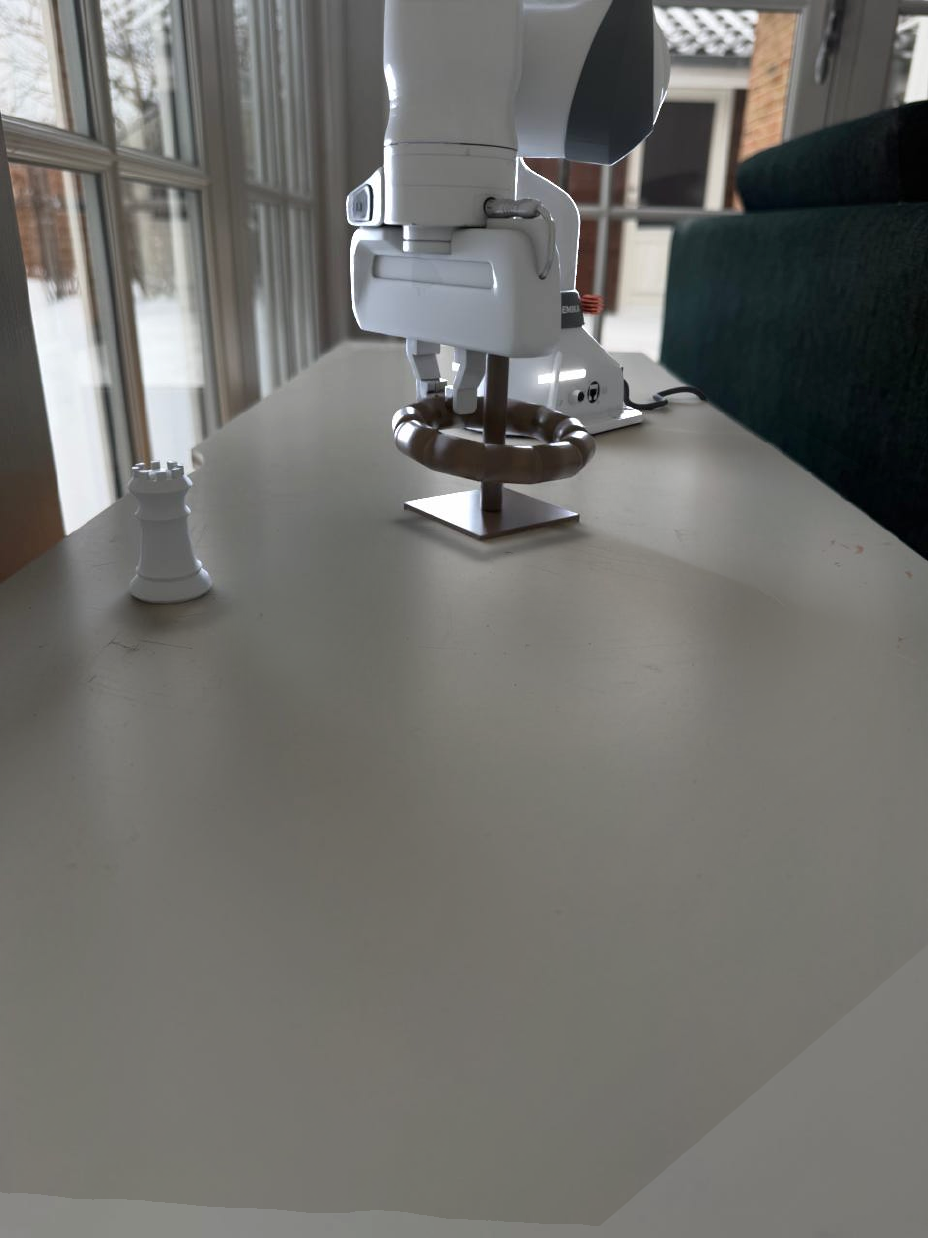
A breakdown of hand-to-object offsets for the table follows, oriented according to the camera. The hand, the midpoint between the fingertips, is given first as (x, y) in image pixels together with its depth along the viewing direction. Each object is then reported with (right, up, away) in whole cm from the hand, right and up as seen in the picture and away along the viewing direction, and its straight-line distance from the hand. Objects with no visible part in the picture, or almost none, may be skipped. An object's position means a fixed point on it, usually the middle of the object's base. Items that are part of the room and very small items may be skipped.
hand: (445, 408), depth 65 cm
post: (+3, -9, -1) cm, 10 cm away
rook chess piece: (-15, -15, -16) cm, 26 cm away
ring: (+3, -3, -4) cm, 6 cm away
